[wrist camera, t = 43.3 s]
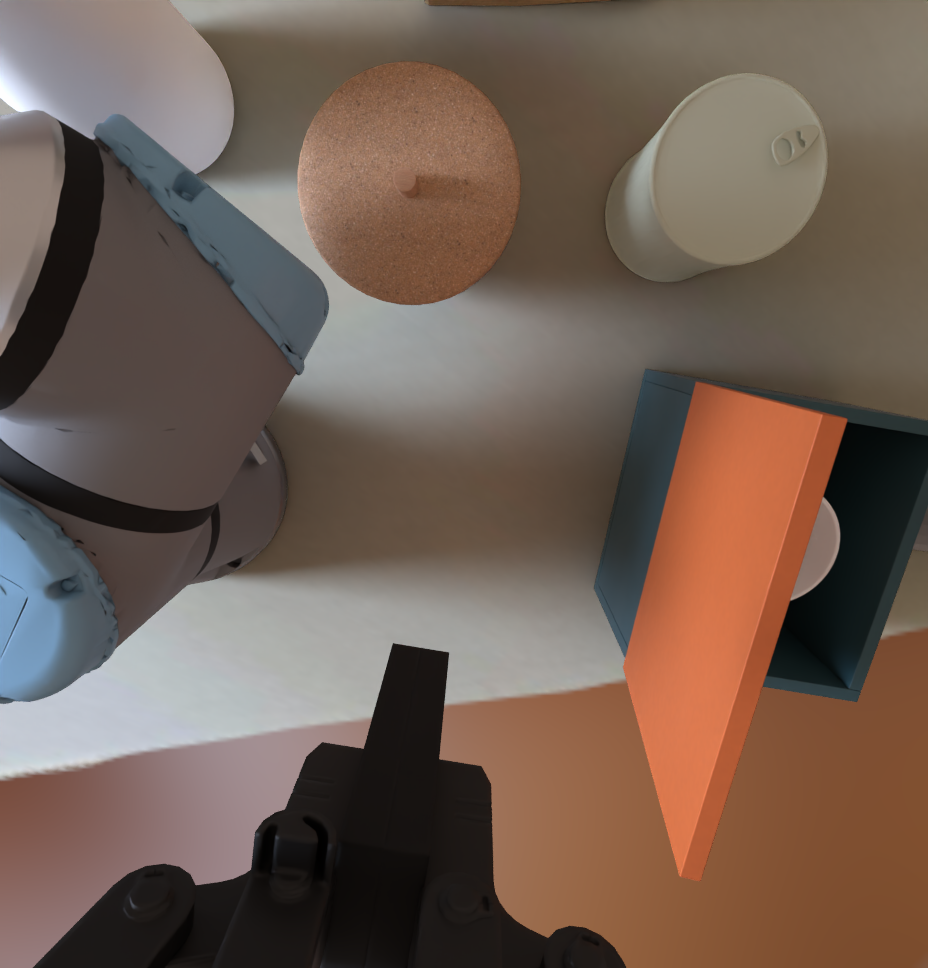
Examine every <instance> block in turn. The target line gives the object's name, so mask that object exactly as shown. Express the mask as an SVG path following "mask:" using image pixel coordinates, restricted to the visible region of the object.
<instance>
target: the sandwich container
mask: <svg viewBox="0 0 928 968" xmlns="http://www.w3.org/2000/svg"><path fill="white" fill-rule="evenodd" d="M592 1H609V0H425V3H426V4H428V5H494V6H522V5H539V4H557V3H574V2H592Z"/></svg>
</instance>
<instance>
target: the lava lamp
mask: <svg viewBox="0 0 928 968" xmlns="http://www.w3.org/2000/svg"><path fill="white" fill-rule="evenodd" d="M913 550H920V551H928V508H927V511H926V513H925V516H924V519H923V522H922V524H921V527H920V530H919V533H918V535H917V538H916V541H915V544H914V546H913Z"/></svg>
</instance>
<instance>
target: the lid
mask: <svg viewBox="0 0 928 968" xmlns="http://www.w3.org/2000/svg"><path fill="white" fill-rule="evenodd" d="M847 420H848V419H847V418H844V417H840V416H836V415H832V414H828V413H824V412H820V411H816V410H812V409H808V408H804V407H800V406H796V405H792V404H788V403H784V402H780V401H776V400H772V399H769V398H765V397H761V396H757V395H753V394H749V393H745V392H741V391H737V390H733V389H729V388H725V387H721V386H717V385H713V384H709V383H703V382H696V383H695V387H694V391H693V395H692V399H691V403H690V407H689V411H688V415H687V419H686V423H685V427H684V430H683V434H682V438H681V442H680V446H679V450H678V454H677V458H676V462H675V466H674V470H673V474H672V477H671V481H670V485H669V489H668V493H667V497H666V501H665V505H664V509H663V513H662V517H661V521H660V524H659V528H658V532H657V536H656V540H655V544H654V548H653V552H652V556H651V560H650V564H649V568H648V571H647V575H646V579H645V583H644V587H643V591H642V595H641V599H640V603H639V607H638V611H637V615H636V618H635V622H634V626H633V630H632V634H631V638H630V642H629V646H628V650H627V654H626V658H625V662H624V665H623V669H624V673H625V676H626V680H627V684H628V687H629V691H630V695H631V698H632V702H633V706H634V709H635V713H636V717H637V720H638V724H639V728H640V731H641V735H642V739H643V743H644V746H645V750H646V753H647V757H648V761H649V765H650V769H651V772H652V776H653V780H654V783H655V787H656V790H657V794H658V798H659V802H660V805H661V809H662V813H663V816H664V820H665V824H666V827H667V831H668V835H669V839H670V842H671V846H672V850H673V853H674V857H675V861H676V864H677V868H678V872H679V876H680V877H683V878H688V879H692V880H696V881H701V878H702V875H703V872H704V869H705V866H706V863H707V859H708V857H709V853H710V850H711V847H712V844H713V841H714V838H715V834H716V831H717V828H718V825H719V822H720V819H721V816H722V812H723V809H724V806H725V803H726V800H727V797H728V794H729V791H730V787H731V784H732V781H733V778H734V775H735V772H736V768H737V765H738V762H739V759H740V756H741V753H742V750H743V746H744V743H745V740H746V737H747V734H748V731H749V728H750V725H751V722H752V718H753V715H754V712H755V709H756V706H757V703H758V700H759V696H760V693H761V690H762V687H763V684H764V681H765V678H766V674H767V671H768V668H769V665H770V662H771V659H772V656H773V653H774V649H775V646H776V643H777V640H778V637H779V634H780V631H781V627H782V624H783V621H784V618H785V615H786V612H787V609H788V605H789V602H790V599H791V596H792V593H793V590H794V587H795V583H796V580H797V577H798V574H799V571H800V568H801V565H802V562H803V558H804V555H805V552H806V549H807V546H808V543H809V540H810V536H811V533H812V530H813V527H814V524H815V521H816V518H817V514H818V511H819V508H820V505H821V502H822V499H823V496H824V492H825V489H826V486H827V483H828V480H829V477H830V474H831V471H832V467H833V464H834V461H835V458H836V455H837V452H838V449H839V445H840V442H841V439H842V436H843V433H844V430H845V427H846V423H847Z"/></svg>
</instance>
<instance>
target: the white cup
mask: <svg viewBox="0 0 928 968" xmlns="http://www.w3.org/2000/svg"><path fill="white" fill-rule="evenodd" d="M839 545H840V527H839V522H838V519H837V516H836V514H835V512H834V510H833V508H832V507H831V505H830V504H829V502H828V501H827V500H826V499H825V498H824V497H823V499H822V502H821V505H820V508H819V511H818V514H817V518H816V521H815V524H814V527H813V530H812V533H811V536H810V540H809V543H808V546H807V549H806V552H805V555H804V558H803V562H802V565H801V568H800V571H799V574H798V577H797V580H796V583H795V587H794V590H793V593H792V596H791V599H790V601H791V600H794V599H796V598H798V597H800V596H802V595H804V594H806V593H807V592H809V591H810V590H812V589H813V588H814V587H816V586H817V585H818V584H819V583H820V582H821V581H822V580H823V579H824V577H825V576H826V575H827V574H828V572H829V571H830V569H831V568H832V566H833V564H834V562H835V559H836V557H837V554H838V550H839Z"/></svg>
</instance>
